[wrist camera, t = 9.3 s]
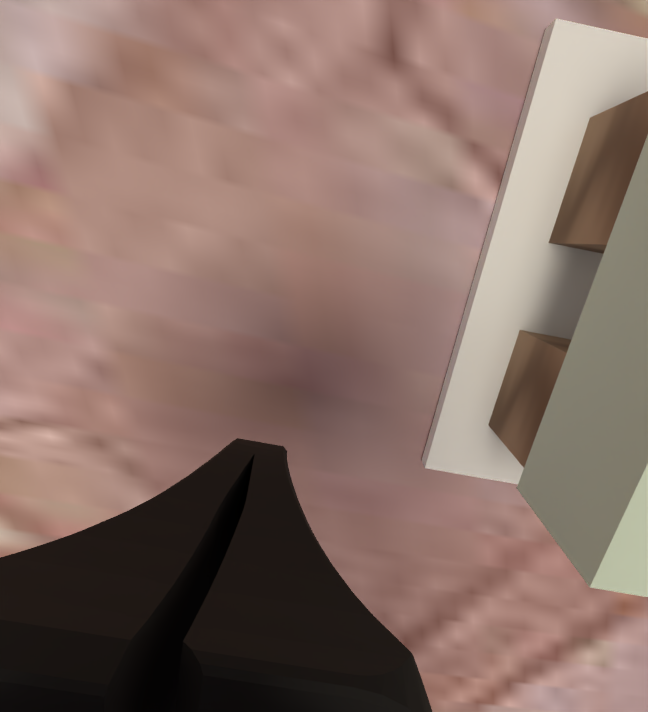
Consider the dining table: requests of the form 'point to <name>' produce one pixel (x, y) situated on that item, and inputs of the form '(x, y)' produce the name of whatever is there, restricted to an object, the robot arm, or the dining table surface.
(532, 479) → the sage lintel
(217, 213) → the dining table surface
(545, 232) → the off-white flat rectangular panel
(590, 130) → the walnut pillars
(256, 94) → the dining table surface
